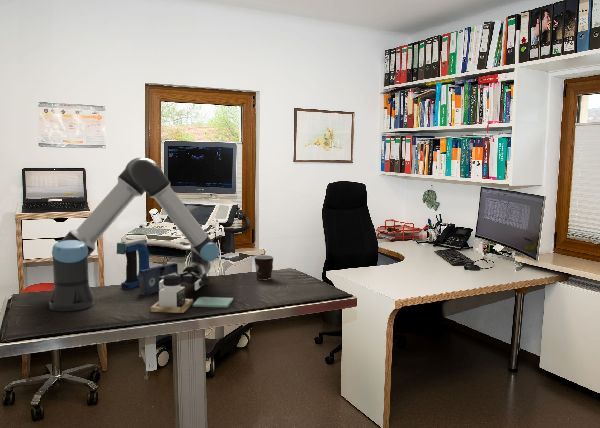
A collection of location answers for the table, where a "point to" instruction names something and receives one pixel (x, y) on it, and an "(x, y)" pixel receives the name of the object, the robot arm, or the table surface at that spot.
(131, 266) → the handheld scanner
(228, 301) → the rubber mat
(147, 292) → the vhs cassette tape
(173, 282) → the medicine bottle
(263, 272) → the coffee mug
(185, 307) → the oak cradle
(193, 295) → the table surface
